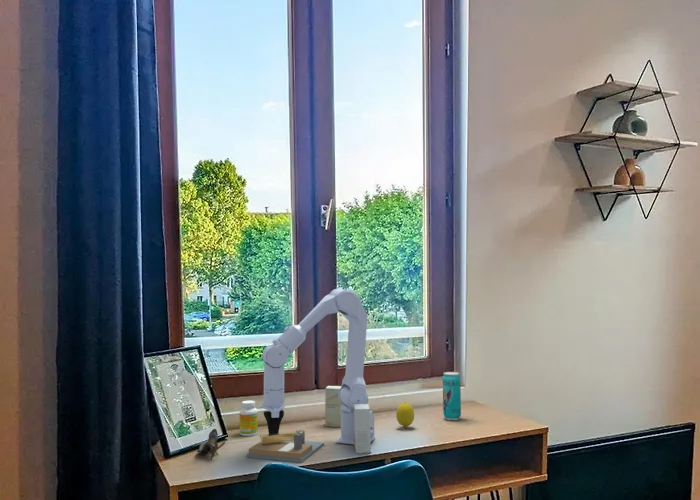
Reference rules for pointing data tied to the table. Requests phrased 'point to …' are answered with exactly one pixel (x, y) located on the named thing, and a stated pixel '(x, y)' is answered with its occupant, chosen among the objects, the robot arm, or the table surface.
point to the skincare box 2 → (362, 428)
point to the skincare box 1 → (332, 407)
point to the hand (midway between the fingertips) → (273, 437)
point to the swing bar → (281, 437)
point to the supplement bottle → (248, 419)
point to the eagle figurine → (211, 444)
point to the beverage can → (451, 396)
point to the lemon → (405, 414)
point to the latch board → (285, 450)
